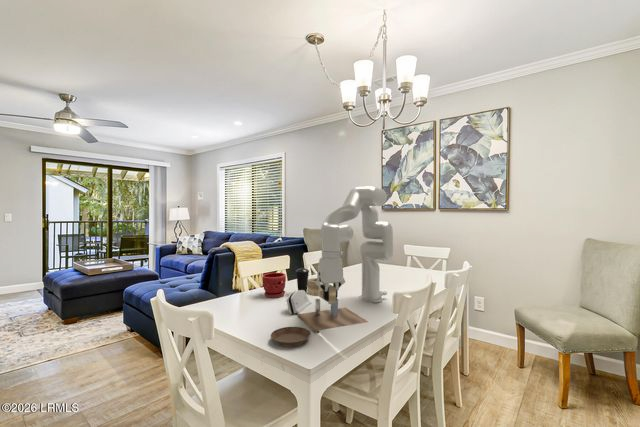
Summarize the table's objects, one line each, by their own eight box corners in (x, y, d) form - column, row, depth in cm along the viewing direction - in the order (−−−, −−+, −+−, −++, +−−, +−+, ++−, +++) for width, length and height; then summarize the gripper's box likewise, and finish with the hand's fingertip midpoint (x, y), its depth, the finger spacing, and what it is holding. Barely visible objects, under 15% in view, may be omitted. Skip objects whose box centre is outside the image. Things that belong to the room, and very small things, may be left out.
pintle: (319, 316, 141) (319, 298, 141) (321, 317, 139) (321, 299, 139) (314, 316, 140) (314, 299, 140) (316, 318, 138) (316, 300, 138)
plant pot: (273, 291, 184) (273, 271, 184) (290, 295, 176) (290, 274, 176) (257, 296, 173) (257, 275, 173) (274, 300, 166) (274, 278, 166)
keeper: (335, 316, 141) (335, 297, 141) (340, 319, 137) (340, 300, 137) (325, 317, 139) (325, 299, 139) (329, 321, 135) (329, 301, 135)
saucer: (263, 339, 116) (263, 332, 116) (296, 330, 125) (296, 323, 125) (284, 353, 105) (284, 345, 105) (318, 342, 114) (318, 335, 114)
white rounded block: (299, 315, 142) (292, 294, 143) (290, 317, 143) (284, 296, 144) (312, 305, 158) (306, 286, 159) (304, 307, 159) (298, 288, 160)
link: (304, 292, 142) (304, 278, 142) (322, 290, 145) (322, 277, 145) (322, 303, 123) (322, 288, 123) (342, 301, 127) (342, 286, 127)
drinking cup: (299, 296, 173) (299, 260, 173) (293, 293, 180) (293, 258, 180) (311, 294, 177) (311, 259, 177) (305, 291, 184) (305, 258, 183)
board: (345, 309, 151) (345, 307, 151) (368, 324, 131) (368, 321, 131) (297, 316, 141) (297, 314, 141) (315, 333, 122) (315, 330, 122)
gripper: (344, 253, 134) (343, 295, 134) (308, 254, 127) (308, 299, 127) (352, 255, 127) (352, 300, 127) (316, 257, 120) (315, 304, 120)
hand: (330, 299), depth 127 cm, fingers closed on link, 3 cm apart
